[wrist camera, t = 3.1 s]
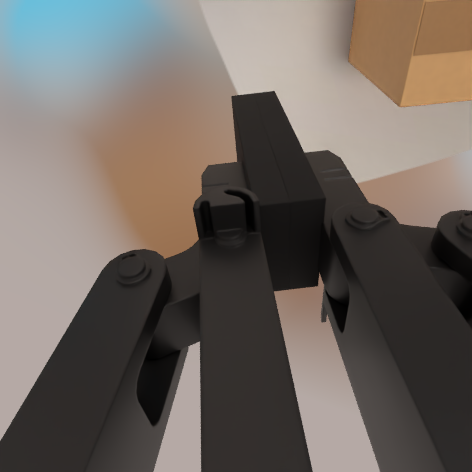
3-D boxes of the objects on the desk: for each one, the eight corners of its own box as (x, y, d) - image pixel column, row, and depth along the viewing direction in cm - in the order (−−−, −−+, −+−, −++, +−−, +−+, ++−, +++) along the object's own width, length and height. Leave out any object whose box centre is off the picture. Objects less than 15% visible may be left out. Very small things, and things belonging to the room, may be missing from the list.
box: (348, 61, 35) (400, 108, 26) (364, -73, 29) (441, -73, 20) (488, 47, 36) (589, 89, 26) (536, -88, 29) (692, -96, 20)
